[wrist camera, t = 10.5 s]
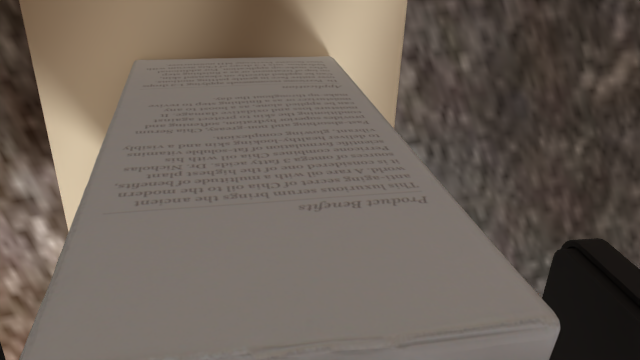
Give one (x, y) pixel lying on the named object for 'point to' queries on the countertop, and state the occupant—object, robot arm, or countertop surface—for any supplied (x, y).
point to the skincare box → (274, 232)
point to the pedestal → (189, 56)
